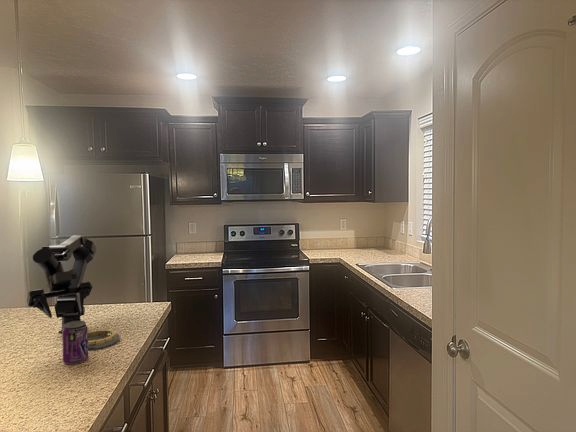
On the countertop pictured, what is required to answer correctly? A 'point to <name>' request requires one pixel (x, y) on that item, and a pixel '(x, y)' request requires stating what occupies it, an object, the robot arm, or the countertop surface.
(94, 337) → the carrier plate
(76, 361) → the beverage can
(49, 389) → the countertop surface
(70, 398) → the countertop surface
